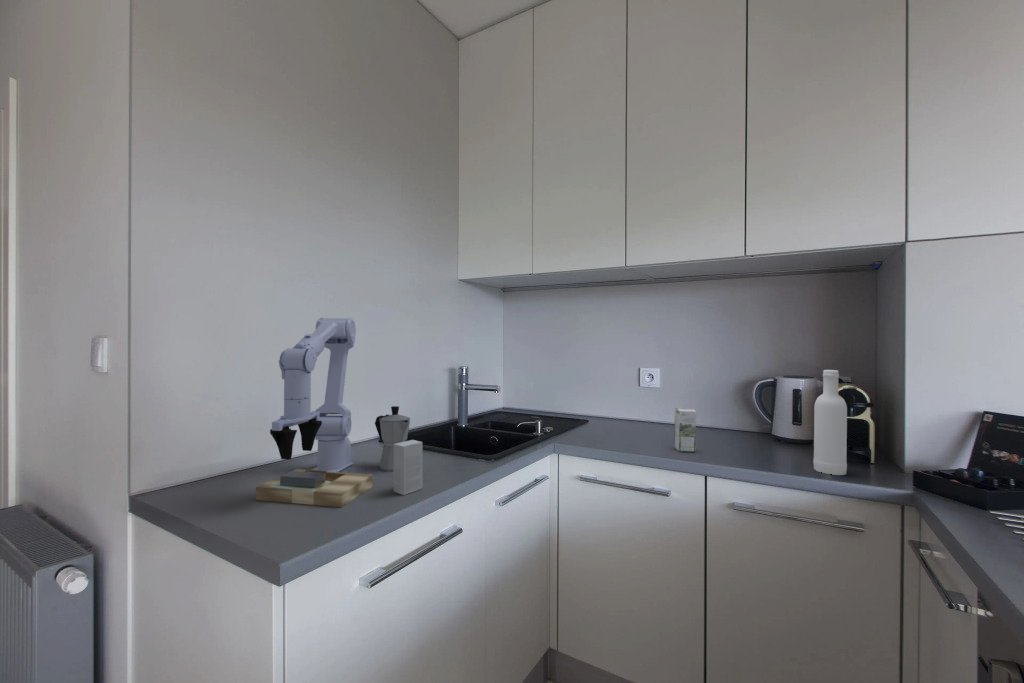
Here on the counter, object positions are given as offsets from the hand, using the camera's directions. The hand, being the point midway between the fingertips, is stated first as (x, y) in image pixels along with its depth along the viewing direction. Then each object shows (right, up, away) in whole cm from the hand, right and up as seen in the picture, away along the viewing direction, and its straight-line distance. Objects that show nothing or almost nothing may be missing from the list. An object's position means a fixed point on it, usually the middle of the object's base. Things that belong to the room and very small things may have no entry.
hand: (297, 454), depth 102 cm
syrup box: (+112, -11, +47) cm, 122 cm away
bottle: (+146, -12, +23) cm, 148 cm away
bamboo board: (+4, -10, +2) cm, 11 cm away
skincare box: (+26, -10, +4) cm, 28 cm away
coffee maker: (+16, -10, +24) cm, 31 cm away
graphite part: (+2, -7, -1) cm, 7 cm away
